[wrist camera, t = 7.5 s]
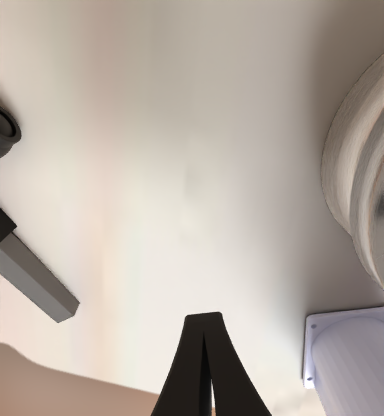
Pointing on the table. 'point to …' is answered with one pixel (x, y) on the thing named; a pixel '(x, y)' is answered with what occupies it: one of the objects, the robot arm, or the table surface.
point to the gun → (28, 252)
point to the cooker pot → (350, 139)
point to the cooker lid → (370, 204)
